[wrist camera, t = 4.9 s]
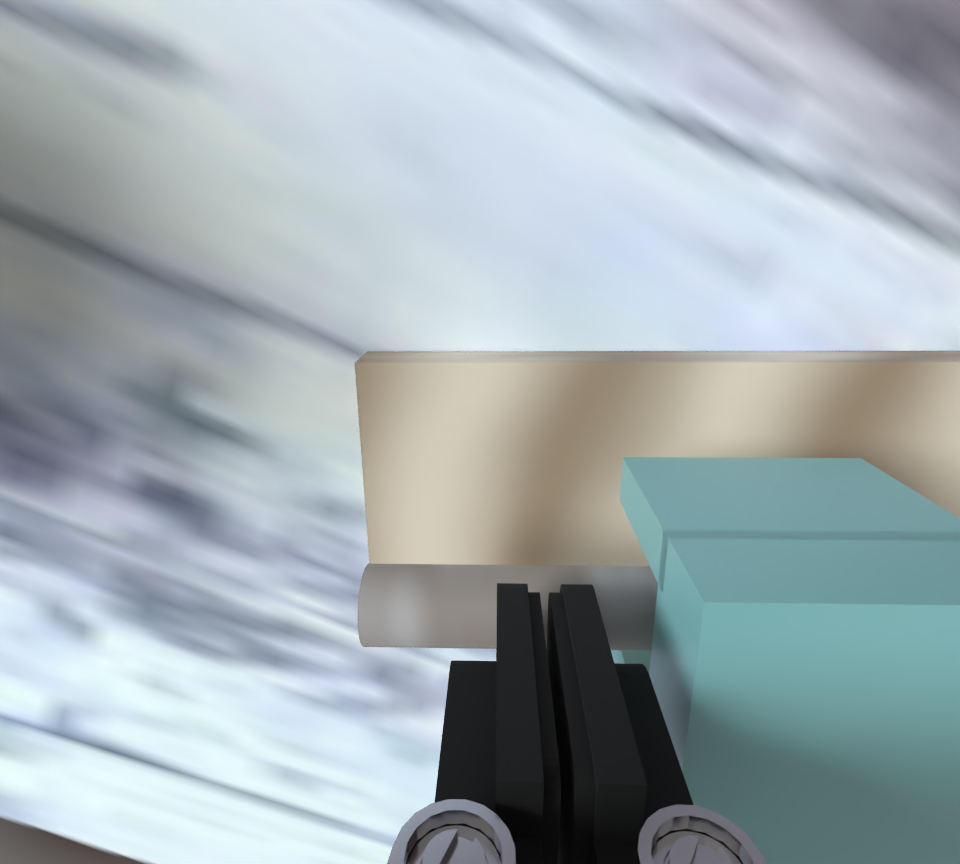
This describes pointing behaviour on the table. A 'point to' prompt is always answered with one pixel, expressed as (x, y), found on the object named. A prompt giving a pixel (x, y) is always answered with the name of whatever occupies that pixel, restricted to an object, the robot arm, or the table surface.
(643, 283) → the table surface
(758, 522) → the sleeve
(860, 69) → the table surface
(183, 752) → the table surface
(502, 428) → the wooden slide rail
